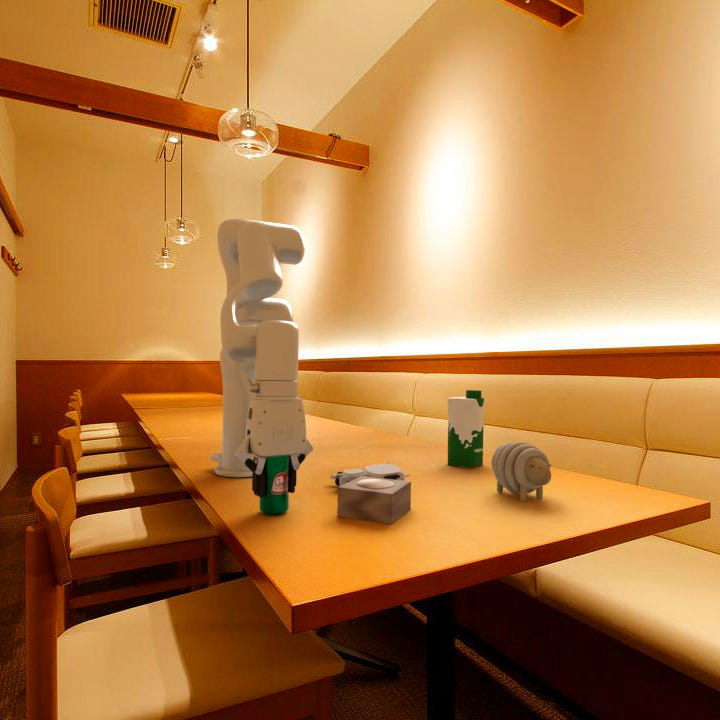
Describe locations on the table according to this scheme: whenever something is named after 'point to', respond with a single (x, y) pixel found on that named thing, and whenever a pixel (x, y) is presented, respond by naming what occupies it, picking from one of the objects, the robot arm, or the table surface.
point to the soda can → (276, 486)
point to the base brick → (374, 499)
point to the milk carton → (466, 429)
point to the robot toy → (370, 473)
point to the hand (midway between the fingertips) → (274, 492)
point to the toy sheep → (521, 469)
